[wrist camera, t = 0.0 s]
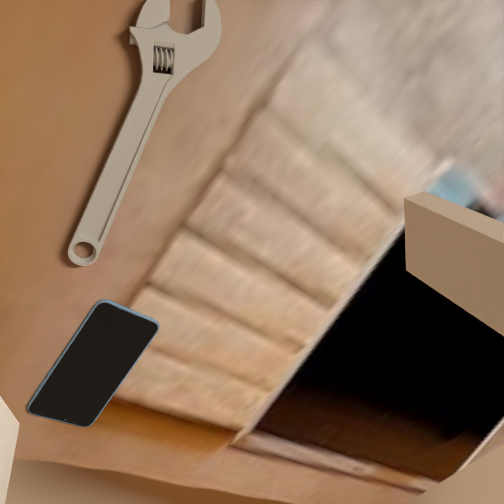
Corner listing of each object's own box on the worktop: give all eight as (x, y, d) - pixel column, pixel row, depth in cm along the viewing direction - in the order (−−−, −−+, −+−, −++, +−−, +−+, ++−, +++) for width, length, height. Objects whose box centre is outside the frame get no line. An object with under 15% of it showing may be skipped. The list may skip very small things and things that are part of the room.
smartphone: (163, 324, 45) (90, 430, 47) (162, 320, 45) (89, 424, 47) (99, 297, 41) (22, 414, 43) (98, 293, 42) (23, 408, 44)
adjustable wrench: (92, 263, 40) (92, 271, 39) (22, 236, 37) (19, 244, 36) (227, 19, 35) (233, 17, 34) (159, -36, 32) (163, -40, 31)
